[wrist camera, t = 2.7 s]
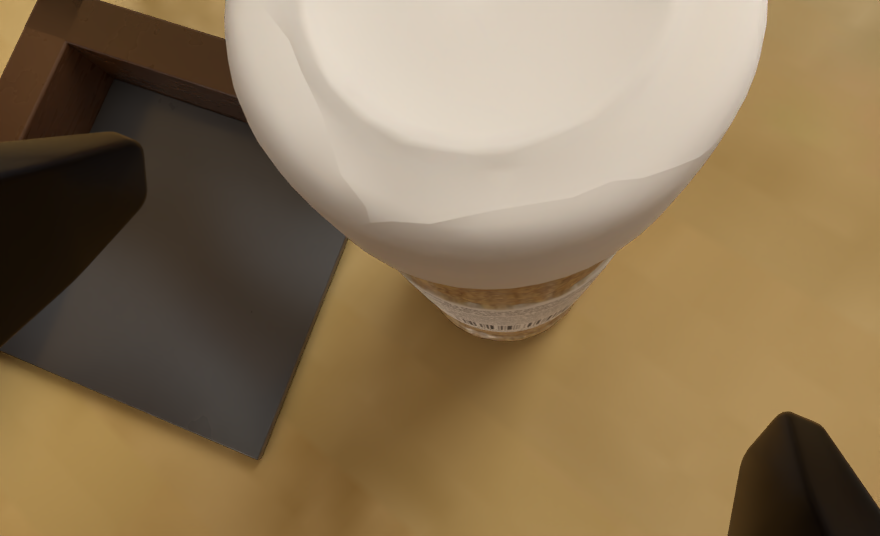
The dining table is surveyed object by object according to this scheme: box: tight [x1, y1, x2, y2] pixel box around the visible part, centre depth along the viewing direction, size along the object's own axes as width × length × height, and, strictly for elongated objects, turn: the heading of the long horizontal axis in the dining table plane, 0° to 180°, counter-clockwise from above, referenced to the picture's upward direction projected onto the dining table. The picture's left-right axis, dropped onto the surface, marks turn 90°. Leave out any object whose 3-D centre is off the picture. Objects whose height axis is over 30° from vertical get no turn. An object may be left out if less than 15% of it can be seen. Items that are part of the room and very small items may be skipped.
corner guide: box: [0, 0, 348, 460], centre depth 18 cm, size 15×10×2 cm
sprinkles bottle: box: [224, 0, 768, 341], centre depth 12 cm, size 5×5×14 cm
